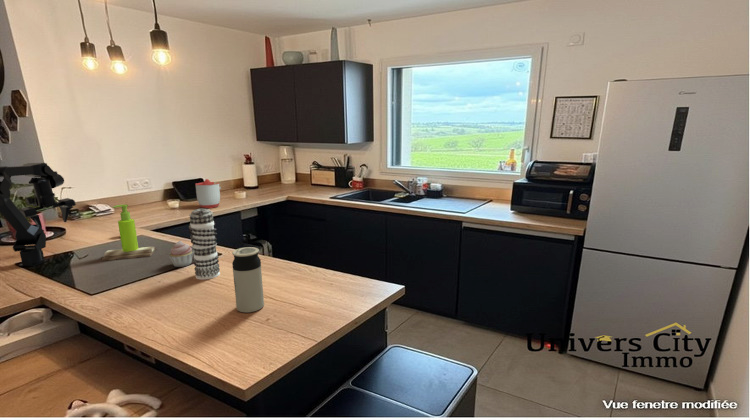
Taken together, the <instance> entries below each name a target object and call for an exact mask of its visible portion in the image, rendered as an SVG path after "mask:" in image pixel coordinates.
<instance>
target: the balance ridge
mask: <svg viewBox="0 0 750 420" xmlns="http://www.w3.org/2000/svg"><path fill="white" fill-rule="evenodd" d="M155 250H157V247H155V246H145V247H138V249H137V250H135V251H130V252H124V251H123V250H122V248H121V249H110V250H109V249H108V250H106V251H105V252H104V253H103V254H104V256H103V257H102V258H101V261H102V262H105V261H115V260H116V259H117V260H126V258H128V259H135V258H137V257H139V258H148V257H152V255H153V254H154V253H155V252H156V251H155Z"/></svg>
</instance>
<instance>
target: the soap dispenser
mask: <svg viewBox="0 0 750 420" xmlns="http://www.w3.org/2000/svg"><path fill="white" fill-rule="evenodd" d="M128 205H129V204H118V205H114V206H112V208H113V209H118V208H121V210H122V211H121V212H120V213H119V214H120V219H119V220H118V221H117V223H118V232H119V231H120V232H119V236H120V244H121V249H122V250H123V251H124V252H130V251H135V250H137V249H138V248H139V243H138V237H137V230H136V223H135V218H134V219H133V218H131V213H130V211H128V210H127V209H128V208H127V207H129V206H128Z"/></svg>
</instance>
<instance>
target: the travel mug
mask: <svg viewBox="0 0 750 420" xmlns="http://www.w3.org/2000/svg"><path fill="white" fill-rule="evenodd" d="M259 251H260V249H259V248H258V247H252V246H251V247H250V246H249V247H248V246H247V247H239V248H237V249H234V250H233V251H232V252H231V254H232V256H233V260H232V263H231V264H232V273H233V274H232V276H233V285H234V294H235V295H234V297H235V306H236V310H237V311H238V312H241V313H245V314H246V313H253V312H256V311H259V310H261V309H262V308H263V307H264V306H265V301H264V299H265V298H264V286H263V273H262V262H261V258H260V256H259Z"/></svg>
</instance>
